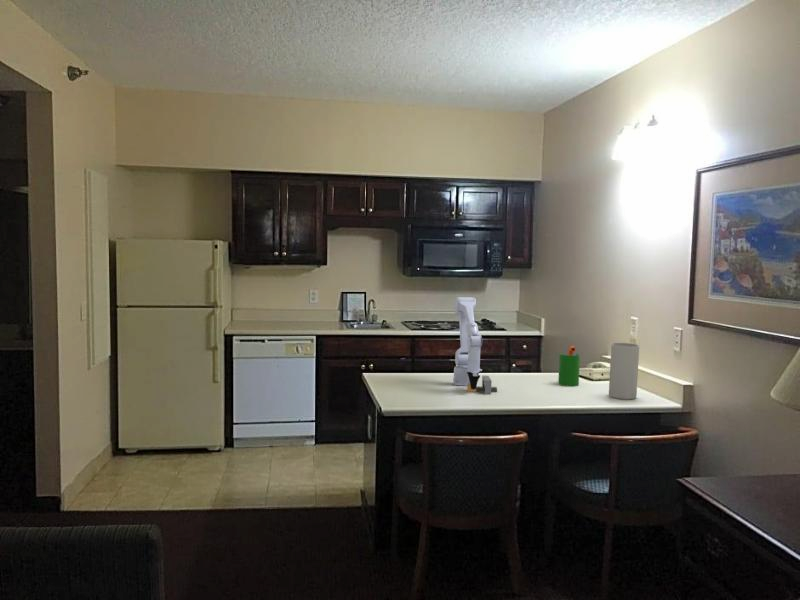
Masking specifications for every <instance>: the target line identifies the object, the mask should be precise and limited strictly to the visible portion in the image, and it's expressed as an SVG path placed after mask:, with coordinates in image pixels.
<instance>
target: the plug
mask: <svg viewBox="0 0 800 600" xmlns="http://www.w3.org/2000/svg"><path fill="white" fill-rule="evenodd" d="M466 391H467V392H468V393H470V392H471V393H477V392H482V393H484V387H482V386H478V385H477V386H476V389H471V384H470V383H467V387H466ZM497 392H498V388H497V386H491V393H497Z"/></svg>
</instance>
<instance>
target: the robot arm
mask: <svg viewBox="0 0 800 600" xmlns="http://www.w3.org/2000/svg"><path fill="white" fill-rule="evenodd" d="M476 307H477V300H476V298H475V296H470V297H468V296H460V297H459V296H456V297H455V299H454V312H455V315H457V316H458V322H459V323H458V324H459V339H460V340H459V341H460V347H459V348H458V349H457V350H456V351H455V352H454V353H455V356H454V358H455V359H454V363H455V365H456V366H454V368H453V379H452V381H453V384H454V385H453V386H465V387H466V386H467V383H470V384H471V389H476V386H478V381H479V379H480V378H481V375H480V372H482V371H483V369H482V368H481V366H480V365H481V348H482V346H483V337H482V335H481V333H480V331H479V327H478V323H476V322H475V315H474V314H475V313H474V312H475V309H476Z"/></svg>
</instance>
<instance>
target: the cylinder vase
mask: <svg viewBox="0 0 800 600" xmlns="http://www.w3.org/2000/svg"><path fill="white" fill-rule="evenodd" d="M610 344H611V345H610V362H609V363H610V364H609V365H610V366H609V380H608V381H609V382H608V395H609V397H610V398H613V399H616V400H617V399H618V400H635V399H637V397H638V396H637V395H638V393H637V392H638V378H639V377H638V376H639V363H640V362H639V360H640V357H639V356H640V345H639V344H636V343H628V342H612V343H610Z"/></svg>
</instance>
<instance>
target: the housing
mask: <svg viewBox="0 0 800 600" xmlns="http://www.w3.org/2000/svg"><path fill="white" fill-rule="evenodd" d="M481 378H482V379H481V380H482V381H481V387H484V392H483V393H484V394H485V395H492V392H491V387H492V382H493V381H492V379H491V377H490V375H482V376H481Z"/></svg>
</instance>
